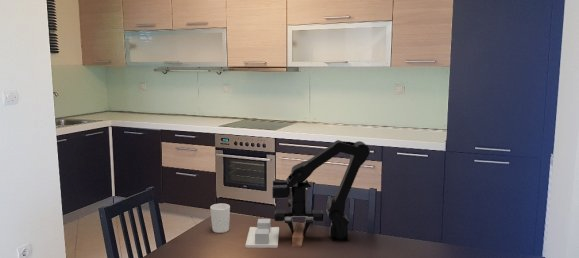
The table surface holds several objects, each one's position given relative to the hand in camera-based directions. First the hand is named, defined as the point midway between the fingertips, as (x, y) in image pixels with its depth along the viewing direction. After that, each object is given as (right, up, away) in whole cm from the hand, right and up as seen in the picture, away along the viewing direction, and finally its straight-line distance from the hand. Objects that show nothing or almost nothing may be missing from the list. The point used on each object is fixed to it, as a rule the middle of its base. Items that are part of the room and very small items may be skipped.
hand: (298, 236), depth 182 cm
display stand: (-14, -1, +1) cm, 14 cm away
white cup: (-32, 0, +9) cm, 33 cm away
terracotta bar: (0, -1, 0) cm, 1 cm away
